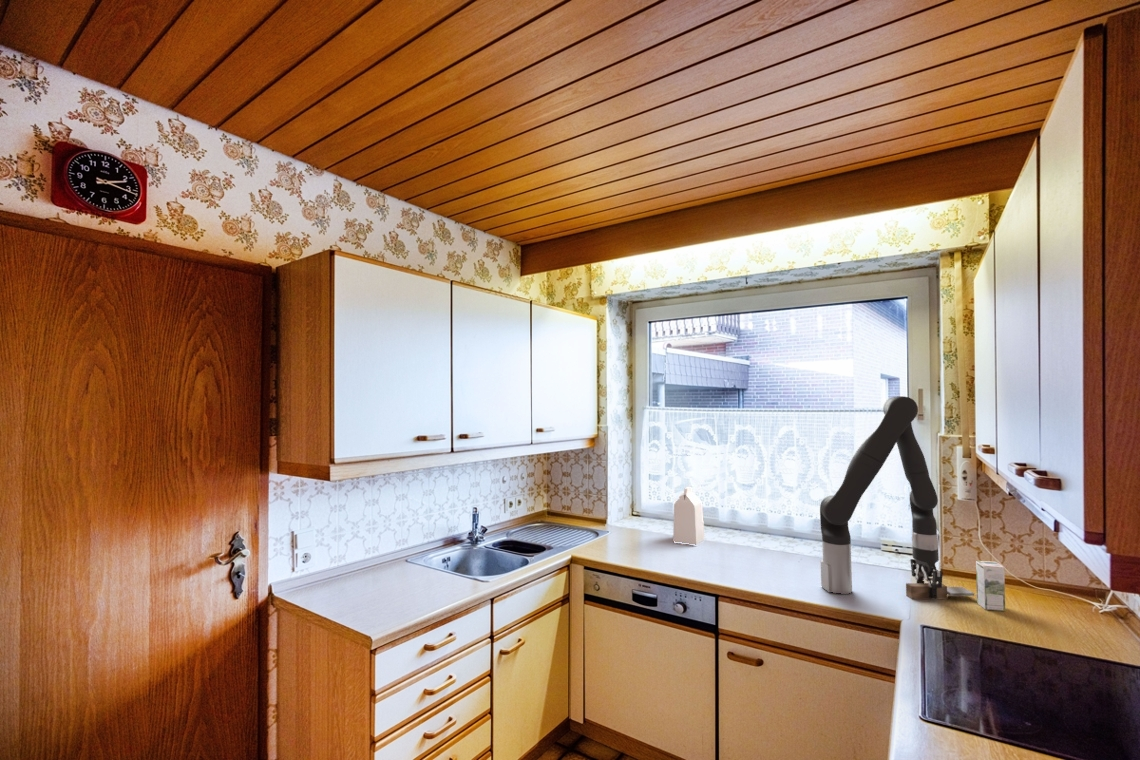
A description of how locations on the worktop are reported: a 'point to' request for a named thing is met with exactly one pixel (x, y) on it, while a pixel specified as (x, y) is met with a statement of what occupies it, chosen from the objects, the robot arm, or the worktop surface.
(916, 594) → the turner
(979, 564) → the syrup box
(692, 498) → the milk
